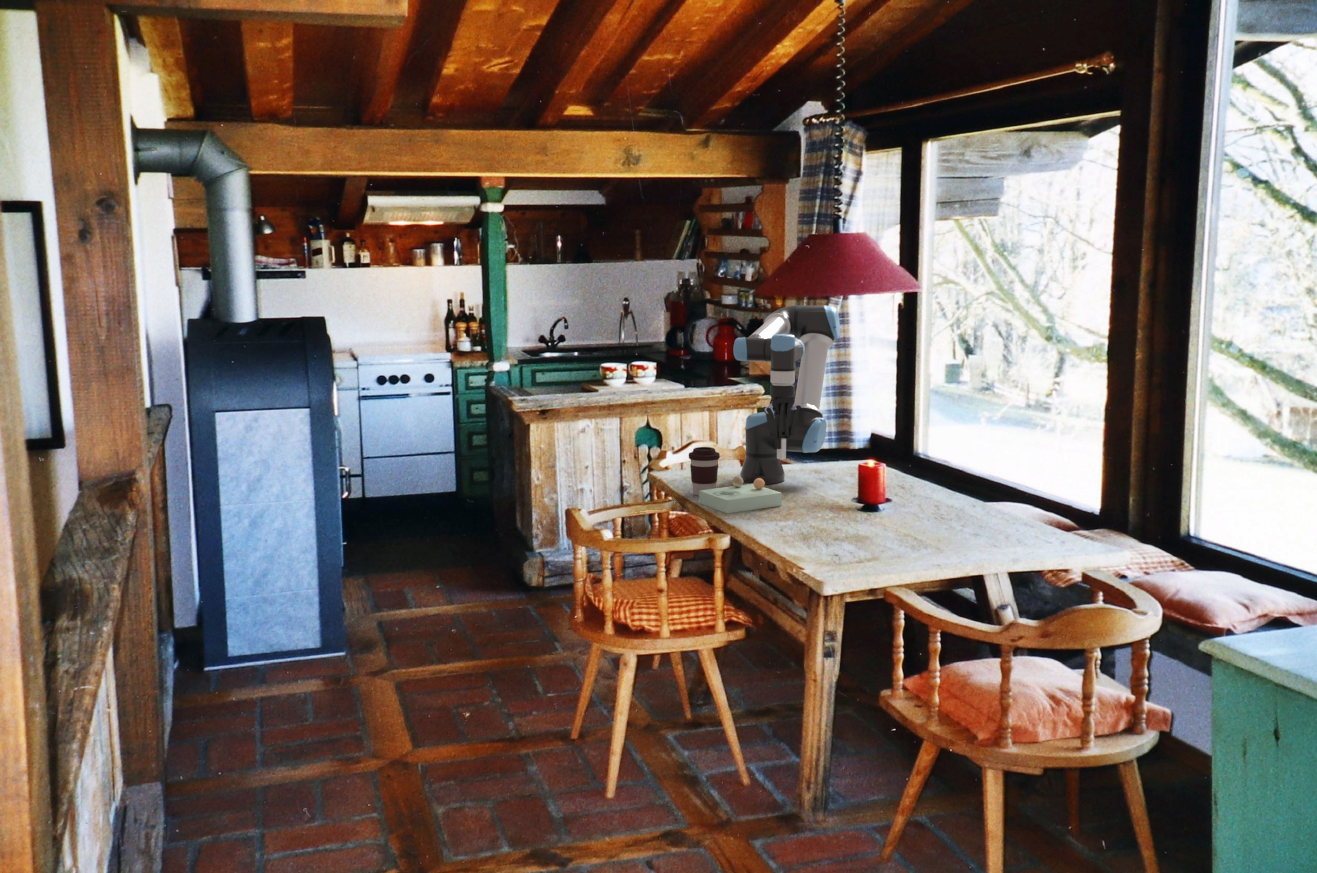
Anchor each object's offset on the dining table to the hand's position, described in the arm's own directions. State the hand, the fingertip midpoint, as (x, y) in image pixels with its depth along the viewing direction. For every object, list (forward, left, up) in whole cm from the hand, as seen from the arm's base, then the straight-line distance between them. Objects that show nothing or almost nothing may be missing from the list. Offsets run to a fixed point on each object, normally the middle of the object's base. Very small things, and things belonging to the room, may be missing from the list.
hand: (781, 458), depth 360 cm
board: (+15, 0, -13) cm, 20 cm away
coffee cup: (+17, -18, -13) cm, 28 cm away
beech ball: (+12, -6, -7) cm, 16 cm away
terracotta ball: (+8, 0, -7) cm, 11 cm away
